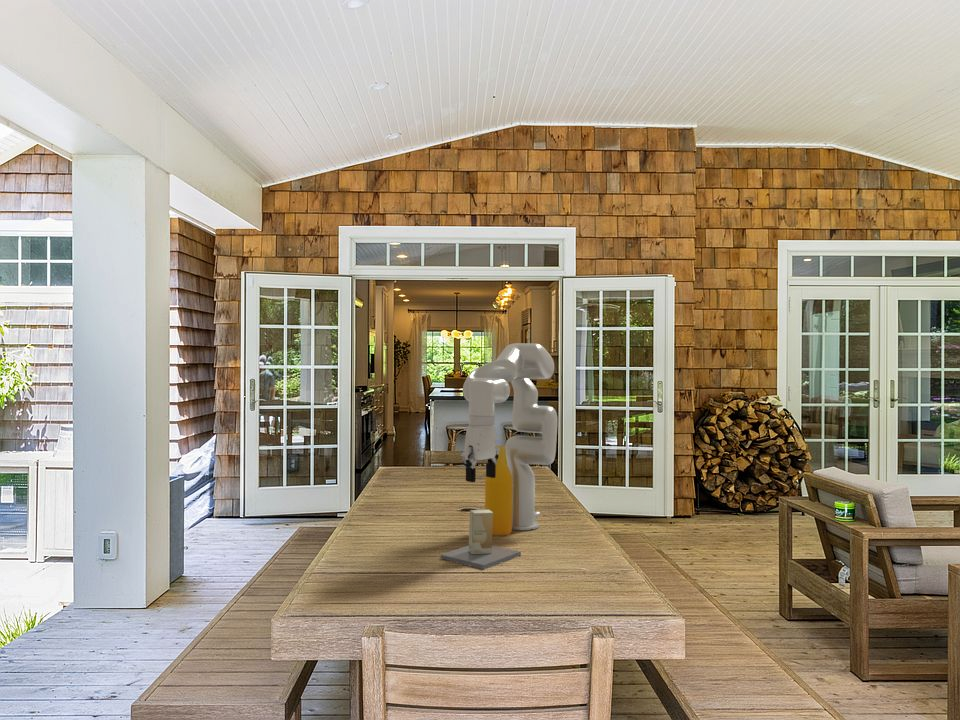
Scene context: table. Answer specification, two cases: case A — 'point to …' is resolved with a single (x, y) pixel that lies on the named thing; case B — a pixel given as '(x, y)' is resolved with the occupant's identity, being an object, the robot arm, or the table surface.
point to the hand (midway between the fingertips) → (480, 479)
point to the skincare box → (480, 531)
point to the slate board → (480, 556)
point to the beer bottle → (500, 496)
